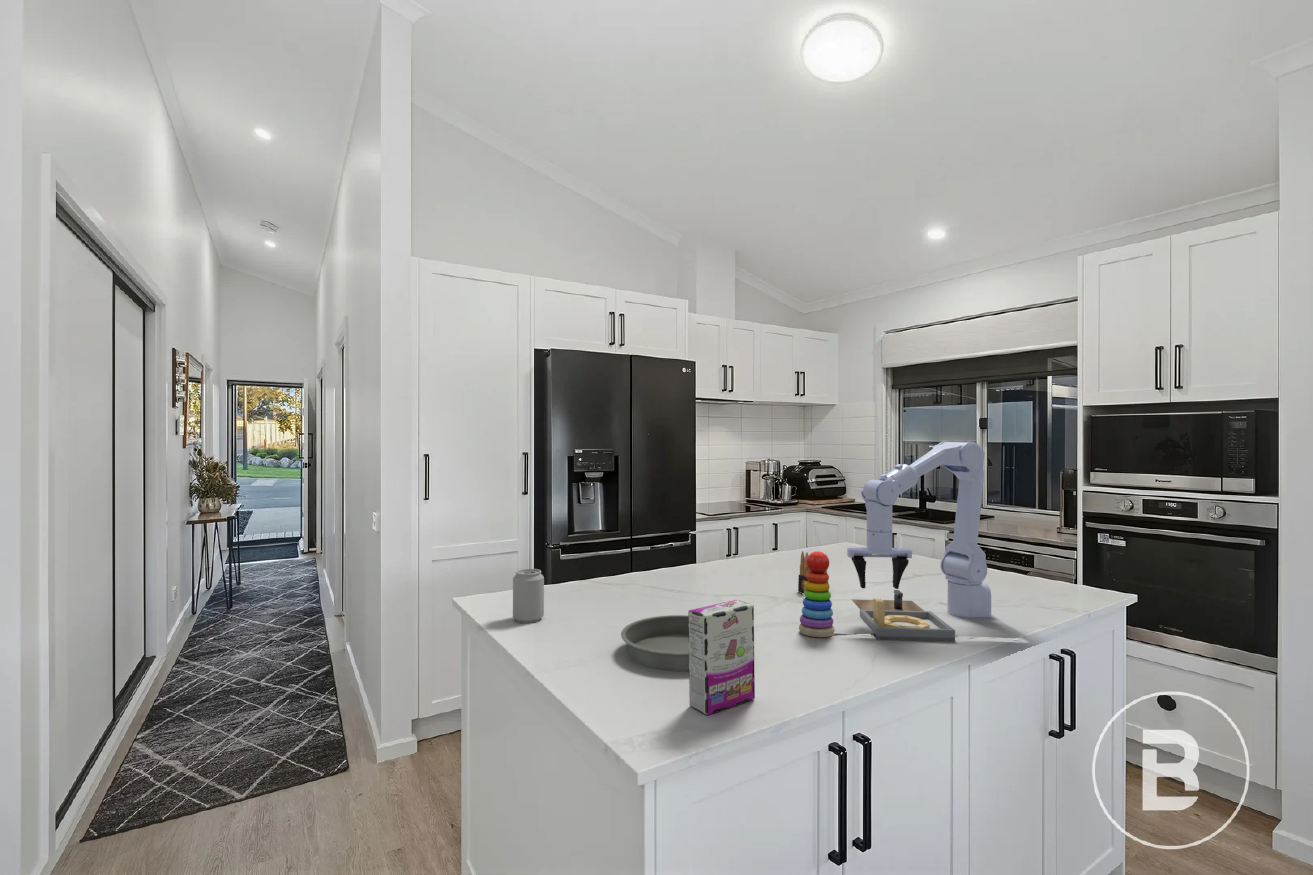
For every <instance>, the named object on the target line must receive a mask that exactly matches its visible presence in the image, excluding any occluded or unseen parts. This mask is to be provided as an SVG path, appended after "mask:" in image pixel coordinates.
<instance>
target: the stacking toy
mask: <svg viewBox="0 0 1313 875" xmlns="http://www.w3.org/2000/svg"><path fill="white" fill-rule="evenodd" d="M807 566H808V568H809V569H810V570H811V572H809V573H807V579H808V580H809V581H807V582H806V583H805V588H806V590H805V591H804V590H803V592H804V594H803V596H804V598H803V600H802V605H803V607H802V608H801V613H802V614H801V615H800V616H799V622H800V624H799V625H798V630H799V632H800V633H801V634H802V635H804V636H808V637H812V638H828V637H831V636H833V635H834V634H835V631H836V630H835V627H834V619H833V617H832V616H833V614H834V611H833V609H832V606H833V602H832V601H831V597H832V594H831V592H830V590H829V589H830V584H829V580H830V576H829V574H828V572H827V573H825V571H826V570H827V571H828V570H829V566H830V558H829V557H828V556H827V554H826V553H824V552H823V551H813V552H811V553H809V554H808V558H807ZM827 581H828V583H827ZM828 590H829V591H828Z"/></svg>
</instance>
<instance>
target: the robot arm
mask: <svg viewBox="0 0 1313 875" xmlns="http://www.w3.org/2000/svg"><path fill="white" fill-rule="evenodd" d="M985 454H986V453H985V451H984V450H983V449H982V447H981V445H979V444H978V443H977V442H975V441H966V442H965V441H946V440H944V441H941V442H939V443H938V444H935V445H933V446H932V449H931V450H929V451H928V452H926V453H925V454H924V455H922V456H921V457H919V458H918V459H916V460H915V461H914V462H912V463H911V464H909V465H908V464H906V463H903V464H899V463H898V464H895V465H894V466H893V467H894V468H893V469H892V470H890V471H889V472H887V473H886V474H884V473H883V474H881V475H880V476H879V478H878V479H870V480H868V481H867V482H866V483H865V484H864V486H863V489H862V490H861V491H860V494H861V497H862V500H864V503H865V508H866V546H864V547H847V552H846V554H847V557H848V558H850V559H851V561H852V564H853V566H854V568H855V571H856V574H857V576H858V581H859V587H860V588H861V589H866V584H867V582H866V569H867V561H866V560H865V558H891V563H892V587H893V588H894V590H900V589H899V587H900V583H901V579H902V576H903V574H904V572H905V570H906V568H907V567H908V565H909V559H912V558H913V550H912V549H910V548H898V547H893V505H894V504H895V503H896V502H897V501H898V498H899V496H900V495H901V494H903V493H905V492H907V491H908V490H909V489H911V488H913V487H915V486H916V485H917V484H918V481H919V477H921V476H923V475H926V474H927V473H928V472H931V471H933V470H934V469H936V468H938V467H940V466H942V467H943V468H945V469H947V470H948V471H949V472H950V473H953V474H954V475H955V477H956V478H957V479H958V480H959V481H958V487H957V488H958V490H957V500H956V509H955V510H956V511H955V520H954V530H953V540H952V541H951V542H950V543H949V544H947V545H946V546H945V547H944V554H943V555H942V557H941V559H940V560H941V561H940V564H939V565H940V570H941V572H942V573H943V574H944V575H945V580H947V606H946V607H947V608H946V609H947V610H946V611H947V613H948V614H950V615H951V616H955V617H961V618H973V619H974V618H992V593H991V592H992V591H991V588H990V585H989V584H988V583H987V582H984V580H985V579H986V577H987V574H988V566H987V562H986V558H987V557H986V553H985V551H984V550H983V549H982V548H981V547H980V546H979V544H978V541H979V540H978V539H979V531H980V530H979V529H980V520H981V519H980V518H981V509H982V500H983V491H984V490H983V489H984V481H985V472H984V464H985V463H984V461H985Z"/></svg>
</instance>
